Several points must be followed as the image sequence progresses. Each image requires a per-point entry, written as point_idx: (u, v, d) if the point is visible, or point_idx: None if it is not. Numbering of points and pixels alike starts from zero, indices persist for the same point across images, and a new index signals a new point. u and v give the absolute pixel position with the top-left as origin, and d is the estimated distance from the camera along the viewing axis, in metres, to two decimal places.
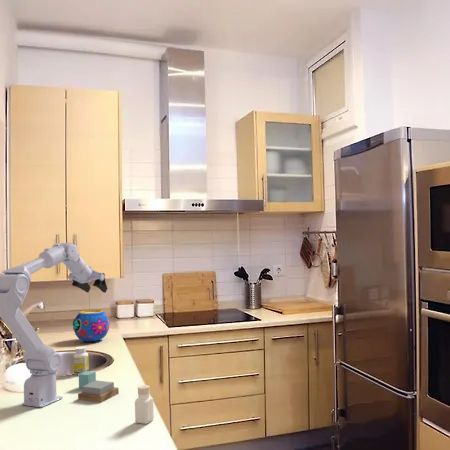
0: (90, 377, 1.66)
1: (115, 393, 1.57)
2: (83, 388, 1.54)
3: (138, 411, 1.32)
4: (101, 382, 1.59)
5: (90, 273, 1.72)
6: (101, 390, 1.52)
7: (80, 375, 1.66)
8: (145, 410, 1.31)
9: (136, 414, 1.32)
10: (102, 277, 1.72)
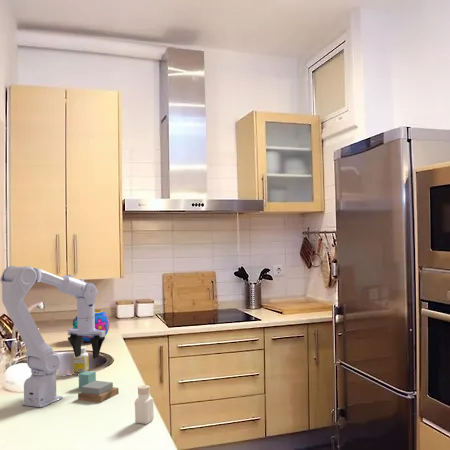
0: (90, 377, 1.66)
1: (115, 393, 1.57)
2: (82, 388, 1.54)
3: (138, 411, 1.32)
4: (100, 382, 1.59)
5: (93, 328, 1.67)
6: (100, 391, 1.53)
7: (80, 375, 1.66)
8: (145, 410, 1.31)
9: (136, 414, 1.32)
10: (103, 334, 1.64)
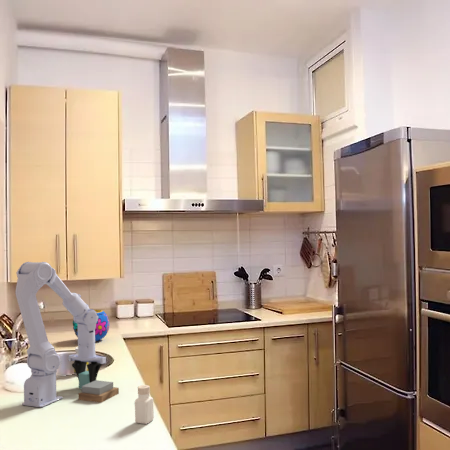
0: None
1: (115, 393, 1.57)
2: (82, 388, 1.55)
3: (138, 411, 1.32)
4: (101, 382, 1.59)
5: (93, 354, 1.66)
6: (101, 390, 1.53)
7: (80, 375, 1.66)
8: (145, 410, 1.31)
9: (136, 414, 1.32)
10: (103, 360, 1.64)
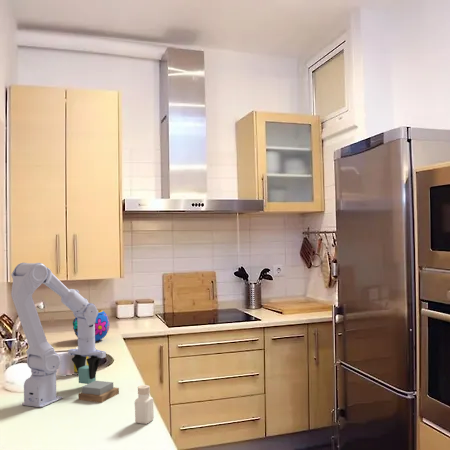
0: None
1: (115, 393, 1.57)
2: (83, 388, 1.55)
3: (138, 411, 1.32)
4: (101, 382, 1.59)
5: (93, 348, 1.66)
6: (101, 391, 1.53)
7: (80, 369, 1.66)
8: (145, 410, 1.31)
9: (136, 414, 1.32)
10: (103, 354, 1.64)
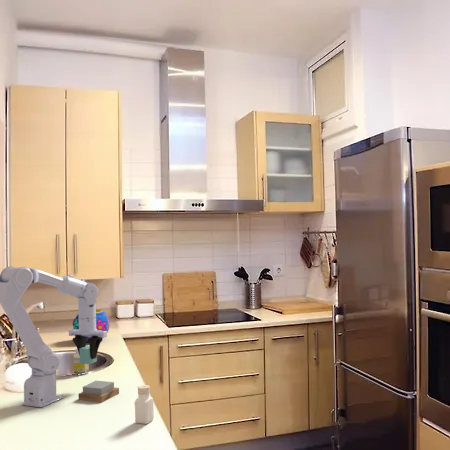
0: None
1: (115, 393, 1.57)
2: (84, 388, 1.54)
3: (138, 411, 1.32)
4: (101, 382, 1.59)
5: (94, 328, 1.65)
6: (102, 390, 1.53)
7: (81, 349, 1.65)
8: (145, 410, 1.31)
9: (136, 414, 1.32)
10: (104, 334, 1.63)
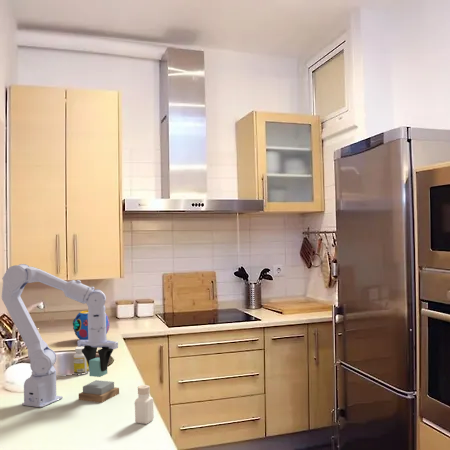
0: None
1: (116, 393, 1.57)
2: (84, 388, 1.55)
3: (138, 411, 1.32)
4: (101, 382, 1.59)
5: (105, 339, 1.56)
6: (102, 390, 1.53)
7: (91, 361, 1.56)
8: (145, 410, 1.31)
9: (136, 414, 1.32)
10: (115, 345, 1.54)
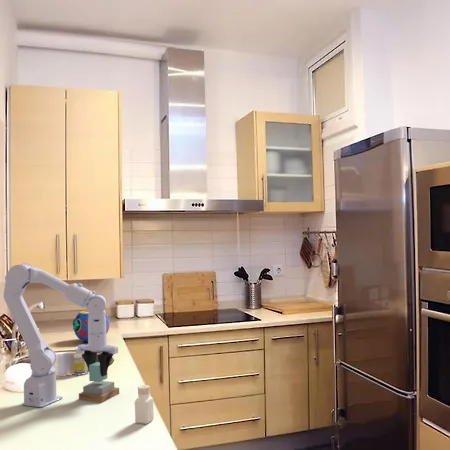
0: None
1: (116, 393, 1.57)
2: (84, 388, 1.54)
3: (138, 411, 1.32)
4: (101, 382, 1.59)
5: (105, 344, 1.56)
6: (103, 390, 1.53)
7: (91, 366, 1.56)
8: (145, 410, 1.31)
9: (136, 414, 1.32)
10: (115, 350, 1.54)
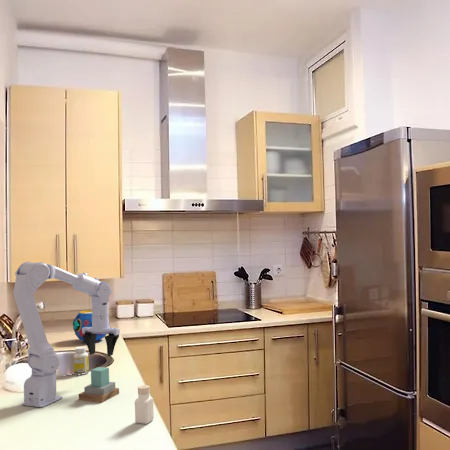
0: (103, 373, 1.55)
1: (116, 393, 1.57)
2: (85, 389, 1.54)
3: (138, 411, 1.32)
4: None
5: (107, 326, 1.69)
6: (105, 391, 1.53)
7: (92, 371, 1.55)
8: (145, 410, 1.31)
9: (136, 414, 1.32)
10: (117, 332, 1.67)
